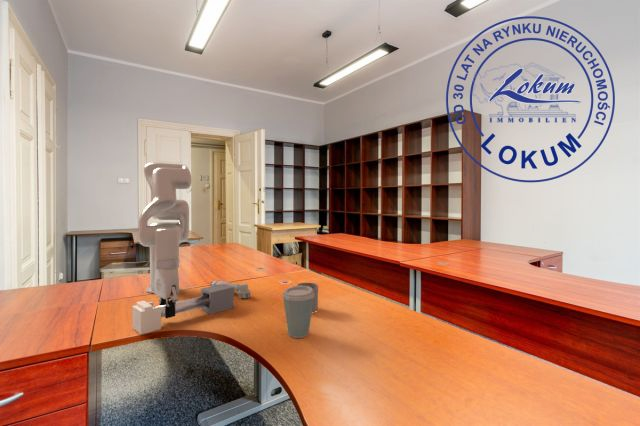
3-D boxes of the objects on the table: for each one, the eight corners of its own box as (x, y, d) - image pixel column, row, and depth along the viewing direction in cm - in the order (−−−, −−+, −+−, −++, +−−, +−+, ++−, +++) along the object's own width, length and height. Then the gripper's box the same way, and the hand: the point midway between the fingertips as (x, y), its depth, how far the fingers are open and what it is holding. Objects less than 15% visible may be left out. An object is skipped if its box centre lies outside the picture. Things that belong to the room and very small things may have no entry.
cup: (320, 308, 128) (321, 284, 127) (311, 315, 120) (312, 289, 120) (302, 305, 131) (303, 281, 131) (292, 311, 124) (293, 286, 123)
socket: (132, 327, 106) (132, 303, 105) (152, 322, 110) (152, 298, 110) (140, 334, 101) (140, 308, 100) (161, 328, 105) (161, 304, 105)
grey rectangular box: (201, 309, 123) (201, 288, 123) (224, 303, 131) (224, 283, 131) (210, 314, 119) (210, 292, 118) (233, 307, 126) (233, 287, 126)
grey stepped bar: (218, 279, 155) (252, 281, 140) (219, 292, 155) (253, 296, 140) (208, 281, 151) (242, 283, 136) (209, 295, 150) (244, 299, 136)
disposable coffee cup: (301, 344, 96) (302, 296, 95) (274, 335, 102) (275, 290, 101) (319, 332, 105) (320, 288, 104) (294, 324, 111) (294, 282, 110)
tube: (145, 319, 107) (144, 307, 107) (205, 303, 123) (205, 293, 123) (149, 322, 104) (149, 310, 104) (211, 306, 120) (211, 295, 120)
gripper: (146, 261, 112) (146, 311, 113) (166, 269, 101) (166, 325, 102) (167, 258, 118) (167, 306, 119) (189, 265, 107) (189, 318, 107)
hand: (167, 314), depth 110 cm, fingers closed on tube, 4 cm apart
